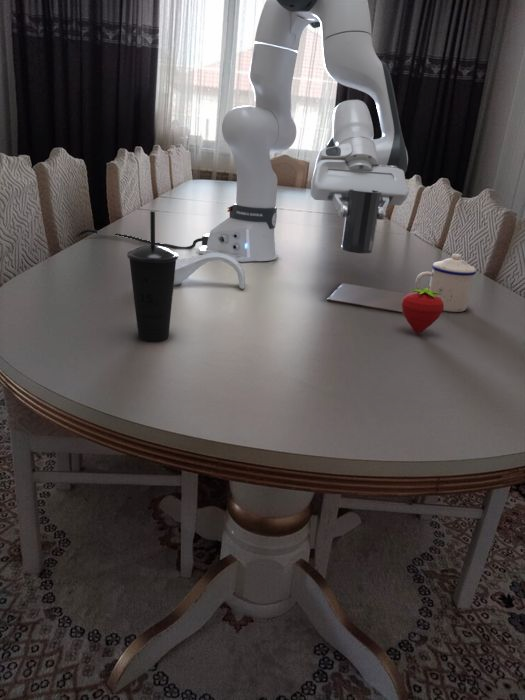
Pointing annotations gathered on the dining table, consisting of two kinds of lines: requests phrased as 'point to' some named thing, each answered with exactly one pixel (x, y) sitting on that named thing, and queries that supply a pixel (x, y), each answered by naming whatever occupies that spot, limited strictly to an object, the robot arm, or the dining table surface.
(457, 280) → the teacup with lid
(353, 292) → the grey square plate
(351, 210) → the waste bin
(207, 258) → the white arch
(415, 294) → the strawberry
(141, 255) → the drinking cup
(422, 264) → the dining table surface
